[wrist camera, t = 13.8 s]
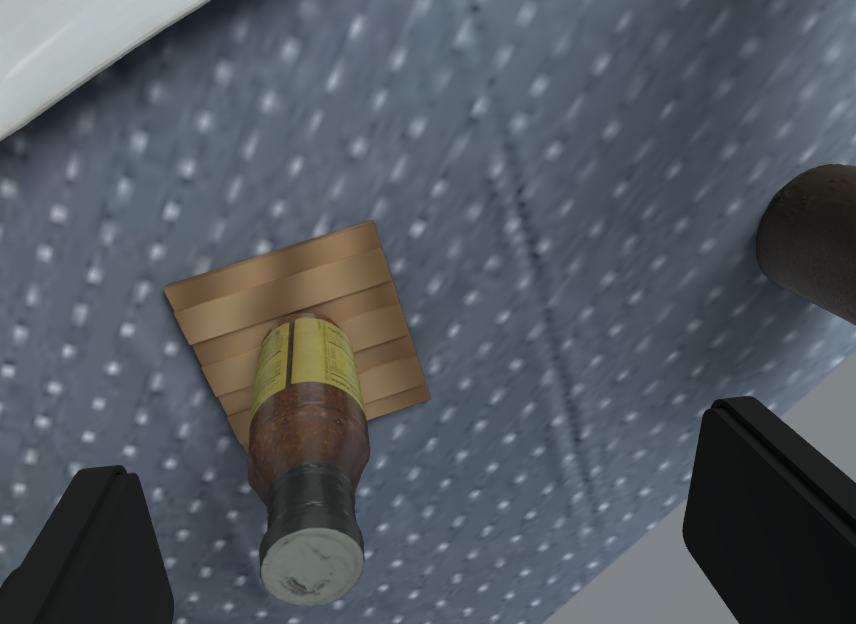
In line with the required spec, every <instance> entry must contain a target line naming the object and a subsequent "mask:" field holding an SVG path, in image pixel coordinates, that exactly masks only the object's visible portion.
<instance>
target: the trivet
mask: <svg viewBox="0 0 856 624" xmlns="http://www.w3.org/2000/svg"><path fill="white" fill-rule="evenodd" d="M164 292H165V294H166V296H167V298H168V300H169V302H170V304H171V306H172V308H173V310H174V315H175V317H176V319H177V321H178V323H179V325H180V327H181V329H182V331H183V333H184V335H185V337H186V339H187V341H188V343H189V345H192V347H193V349H194V351H195V353H196V355H197V357H198V359H199V361H200V363H201V365H202V367H201V368H202V370H203V372H204V374H205V376H206V378H207V380H208V382H209V384H210V386H211V388H212V390H213V392H214V394H215V396H216V397H217V396H218V398H219V400H220V402H221V404H222V406H223V408H224V410H225V412H226V414H227V420H228V422H229V424H230V426H231V428H232V429H233V431H234V433H235V435H236V437H237V439H238V441H239V443H240V444H242V446H243V448H244V450H245V452H246V454H247V456H248V452H249V450H248V448H249V440H248V432H249V424H250V416H251V410H252V402H253V395H254V387H255V378H256V370H257V363H258V356H259V352H260V349H261V346H262V343H263V340H264V338H265V336H266V335H267V333H268V332H269V331H270V330H271V329H272V328H273V326H274V325H275V324H276V323H277V322H278V321H280V320H281V319H283V318H285V317H287V316H289V315H294V314H301V313H315V314H319V315H325V316H327V317H329V318H330V319H332V321H333V322H335V323H336V324H337V325H338V326H339V327H340V328H341V329H342V331H344V332H345V334H346V336H347V337H348V339H349V341H350V342H351V345H352V347H353V351H354V356H355V361H356V366H357V371H358V376H359V380H360V385H361V390H362V395H363V400H364V406H365V412H366V418H367V420H370V419H373V418H376V417H379V416H382V415H385V414H388V413H391V412H394V411H397V410H400V409H403V408H406V407H409V406H412V405H415V404H418V403H421V402H424V401H427V400H430V399H431V397H430V394H429V390H428V387H427V384H426V381H425V378H424V375H423V372H422V369H421V366H420V363H419V360H418V357H417V354H416V351H415V348H414V345H413V341H412V338H411V335H410V332H409V329H408V326H407V323H406V320H405V317H404V314H403V311H402V308H401V305H400V302H399V299H398V295H397V292H396V289H395V286H394V283H393V280H392V277H391V274H390V271H389V268H388V265H387V262H386V259H385V256H384V253H383V250H382V246H381V243H380V240H379V237H378V234H377V231H376V228H375V225H374V222H373V220H371V221H368V222H364V223H361V224H358V225H355V226H352V227H349V228H346V229H342V230H339V231H336V232H333V233H330V234H327V235H324V236H320V237H317V238H314V239H311V240H308V241H305V242H301V243H298V244H295V245H292V246H289V247H286V248H283V249H279V250H276V251H273V252H270V253H267V254H264V255H261V256H257V257H254V258H251V259H248V260H245V261H242V262H239V263H235V264H232V265H229V266H226V267H223V268H220V269H217V270H213V271H210V272H207V273H204V274H201V275H198V276H194V277H191V278H188V279H185V280H182V281H179V282H176V283H172V284H169V285H166V287H165V288H164Z"/></svg>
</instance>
